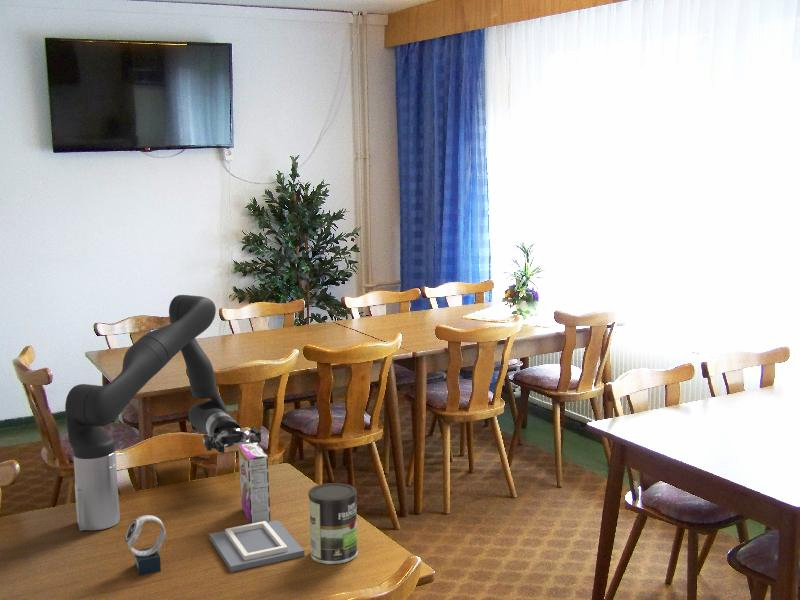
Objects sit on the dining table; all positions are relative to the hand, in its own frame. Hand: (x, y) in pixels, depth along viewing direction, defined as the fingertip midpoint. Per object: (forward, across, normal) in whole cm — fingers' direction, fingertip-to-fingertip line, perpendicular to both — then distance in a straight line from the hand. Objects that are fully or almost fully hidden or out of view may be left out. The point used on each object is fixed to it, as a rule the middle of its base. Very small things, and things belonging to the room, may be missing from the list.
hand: (239, 446), depth 211 cm
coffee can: (+40, +8, +13) cm, 43 cm away
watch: (+28, -28, +13) cm, 42 cm away
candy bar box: (+12, 0, +14) cm, 18 cm away
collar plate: (+30, -6, +13) cm, 33 cm away
